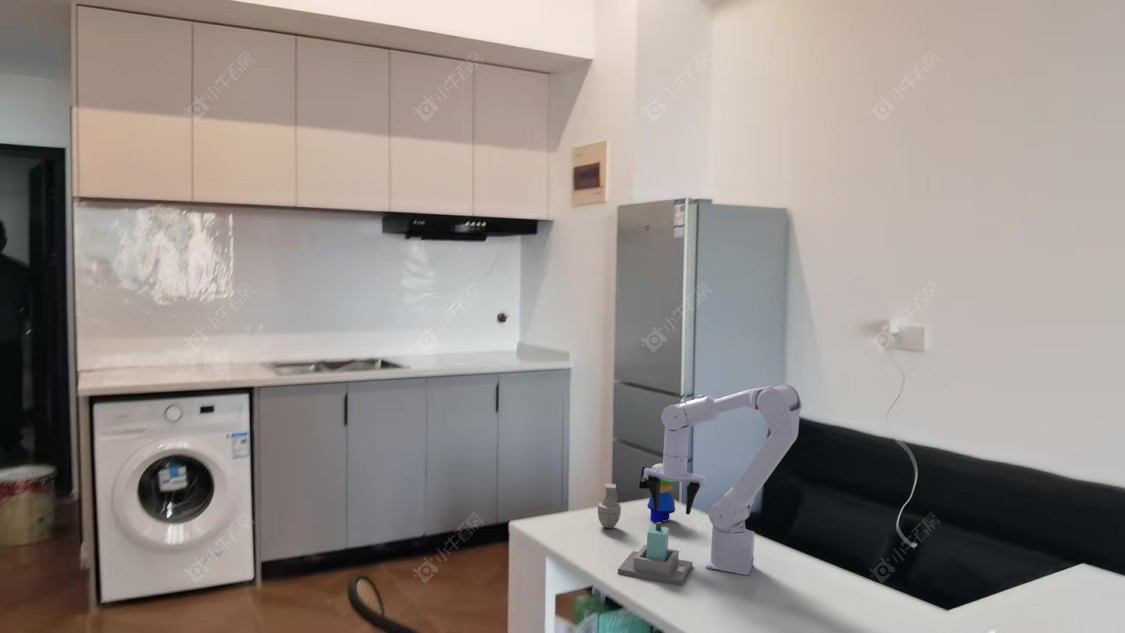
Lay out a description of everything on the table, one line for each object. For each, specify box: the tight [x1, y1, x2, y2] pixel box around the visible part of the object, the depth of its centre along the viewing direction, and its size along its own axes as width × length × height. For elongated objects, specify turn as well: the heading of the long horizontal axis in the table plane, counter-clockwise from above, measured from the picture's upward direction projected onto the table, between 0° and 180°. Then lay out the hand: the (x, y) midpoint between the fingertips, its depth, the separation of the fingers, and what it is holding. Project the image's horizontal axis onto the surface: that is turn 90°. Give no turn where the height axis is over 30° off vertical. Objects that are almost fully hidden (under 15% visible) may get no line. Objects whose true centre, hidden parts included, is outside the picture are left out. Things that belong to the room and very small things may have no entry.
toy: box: [638, 463, 678, 523], centre depth 207 cm, size 9×9×15 cm
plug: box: [646, 522, 670, 562], centre depth 172 cm, size 4×5×10 cm
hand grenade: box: [597, 483, 622, 529], centre depth 198 cm, size 6×6×11 cm
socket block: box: [617, 544, 694, 586], centre depth 172 cm, size 14×12×4 cm
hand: (672, 510), depth 184 cm, fingers open, 7 cm apart
